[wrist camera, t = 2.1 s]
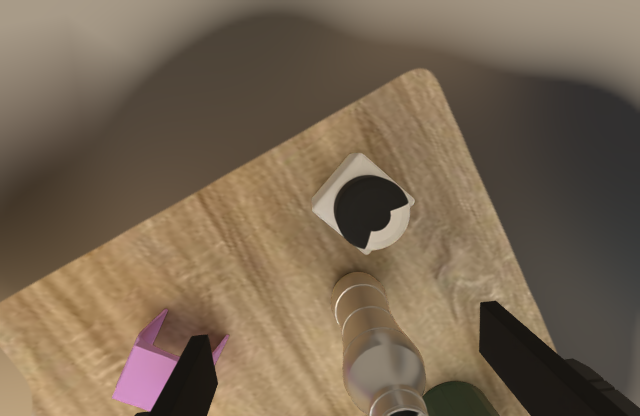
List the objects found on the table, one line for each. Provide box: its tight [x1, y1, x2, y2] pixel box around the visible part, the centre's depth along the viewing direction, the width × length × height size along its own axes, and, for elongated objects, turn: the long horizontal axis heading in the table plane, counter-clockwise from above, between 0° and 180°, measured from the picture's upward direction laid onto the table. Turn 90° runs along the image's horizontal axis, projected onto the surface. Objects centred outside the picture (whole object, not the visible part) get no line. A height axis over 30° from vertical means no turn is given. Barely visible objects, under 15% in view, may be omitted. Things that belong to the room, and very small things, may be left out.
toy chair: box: [112, 309, 229, 411], centre depth 32 cm, size 8×9×15 cm
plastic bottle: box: [331, 272, 429, 416], centre depth 29 cm, size 6×7×20 cm
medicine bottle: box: [312, 153, 415, 255], centre depth 31 cm, size 7×7×12 cm
